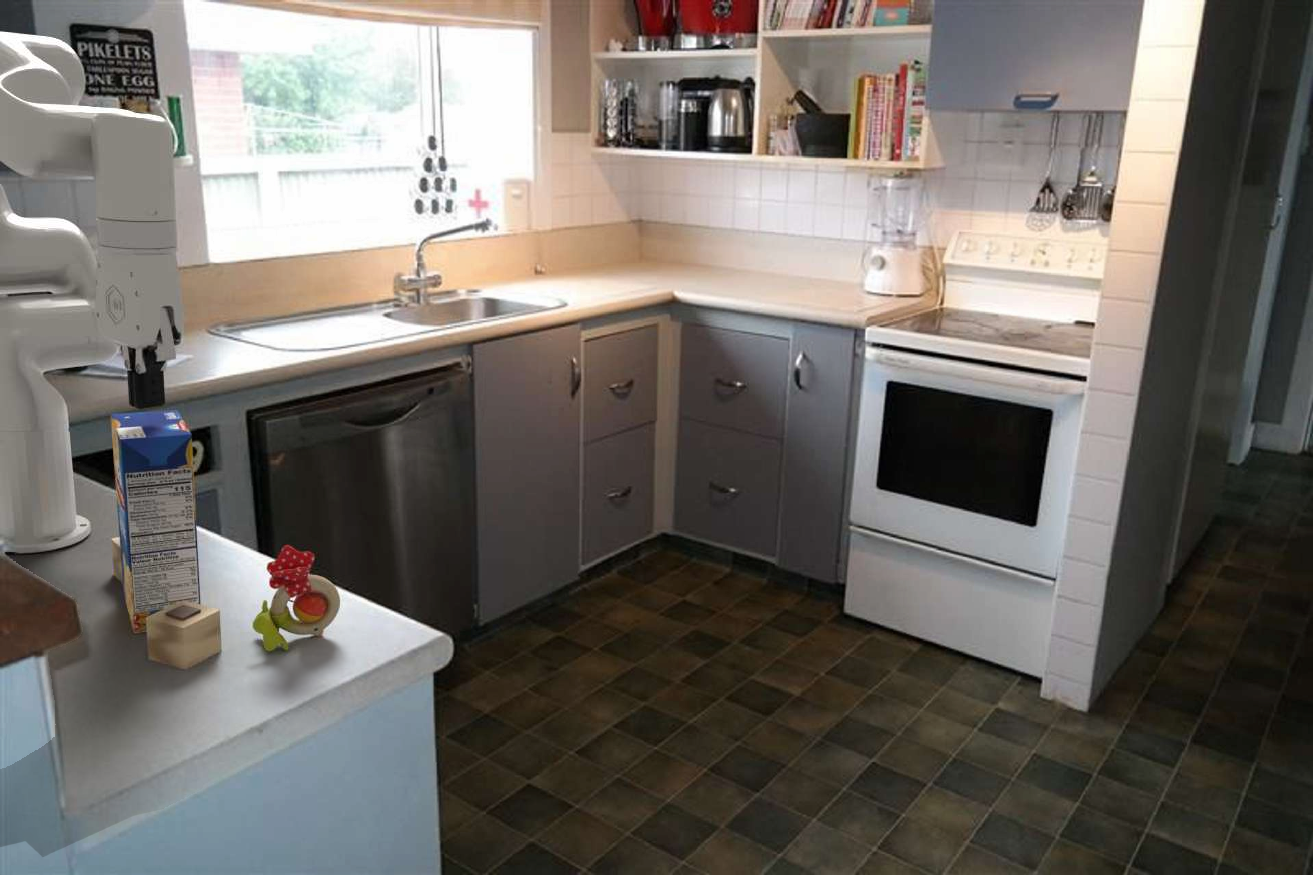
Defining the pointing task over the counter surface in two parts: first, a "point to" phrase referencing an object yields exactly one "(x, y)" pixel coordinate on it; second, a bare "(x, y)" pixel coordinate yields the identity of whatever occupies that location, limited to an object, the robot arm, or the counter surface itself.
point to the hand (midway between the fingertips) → (147, 405)
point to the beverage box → (155, 512)
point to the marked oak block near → (183, 634)
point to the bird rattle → (296, 600)
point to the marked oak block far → (117, 558)
